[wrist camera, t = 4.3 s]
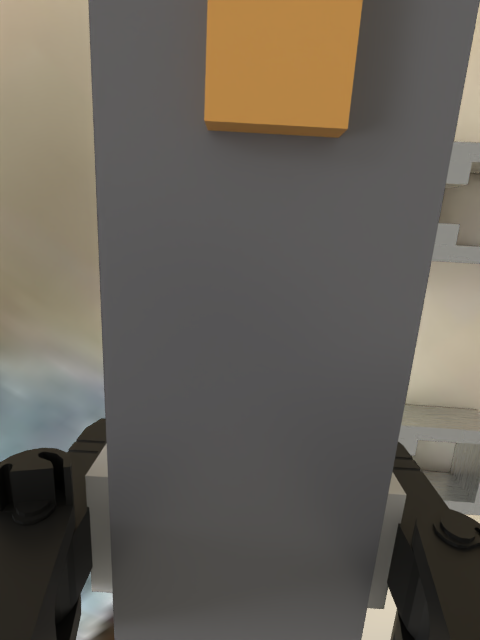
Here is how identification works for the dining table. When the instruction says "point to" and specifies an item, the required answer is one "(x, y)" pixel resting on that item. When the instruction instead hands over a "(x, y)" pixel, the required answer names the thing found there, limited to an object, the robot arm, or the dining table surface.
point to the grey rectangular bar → (262, 295)
